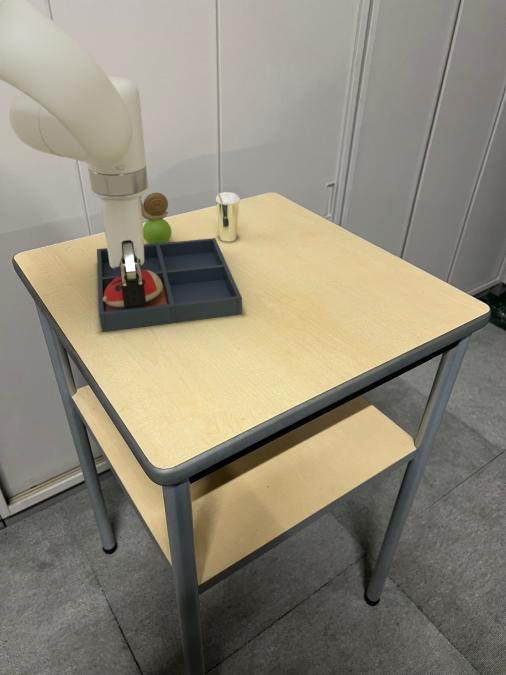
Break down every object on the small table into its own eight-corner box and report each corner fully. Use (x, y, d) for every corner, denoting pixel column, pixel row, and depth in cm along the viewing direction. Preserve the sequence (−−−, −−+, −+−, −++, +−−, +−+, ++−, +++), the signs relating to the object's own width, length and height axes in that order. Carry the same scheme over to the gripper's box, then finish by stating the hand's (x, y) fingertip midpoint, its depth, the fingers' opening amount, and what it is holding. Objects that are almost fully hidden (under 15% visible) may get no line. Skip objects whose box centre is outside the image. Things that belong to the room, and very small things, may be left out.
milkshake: (210, 241, 101) (208, 192, 95) (224, 231, 105) (223, 183, 99) (230, 246, 100) (229, 196, 94) (243, 236, 104) (244, 187, 98)
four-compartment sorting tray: (102, 332, 77) (98, 314, 75) (99, 264, 93) (96, 248, 91) (241, 314, 81) (241, 297, 79) (215, 252, 98) (215, 237, 96)
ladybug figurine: (172, 294, 81) (170, 274, 79) (117, 317, 76) (114, 297, 74) (148, 278, 85) (145, 259, 83) (94, 300, 80) (90, 279, 78)
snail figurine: (135, 242, 100) (128, 182, 93) (167, 237, 103) (162, 177, 95) (143, 254, 96) (135, 192, 89) (176, 248, 99) (171, 187, 92)
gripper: (89, 161, 76) (106, 268, 86) (90, 205, 62) (110, 326, 72) (141, 158, 77) (152, 264, 88) (153, 201, 64) (164, 320, 74)
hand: (133, 291), depth 80 cm, fingers closed on ladybug figurine, 7 cm apart
